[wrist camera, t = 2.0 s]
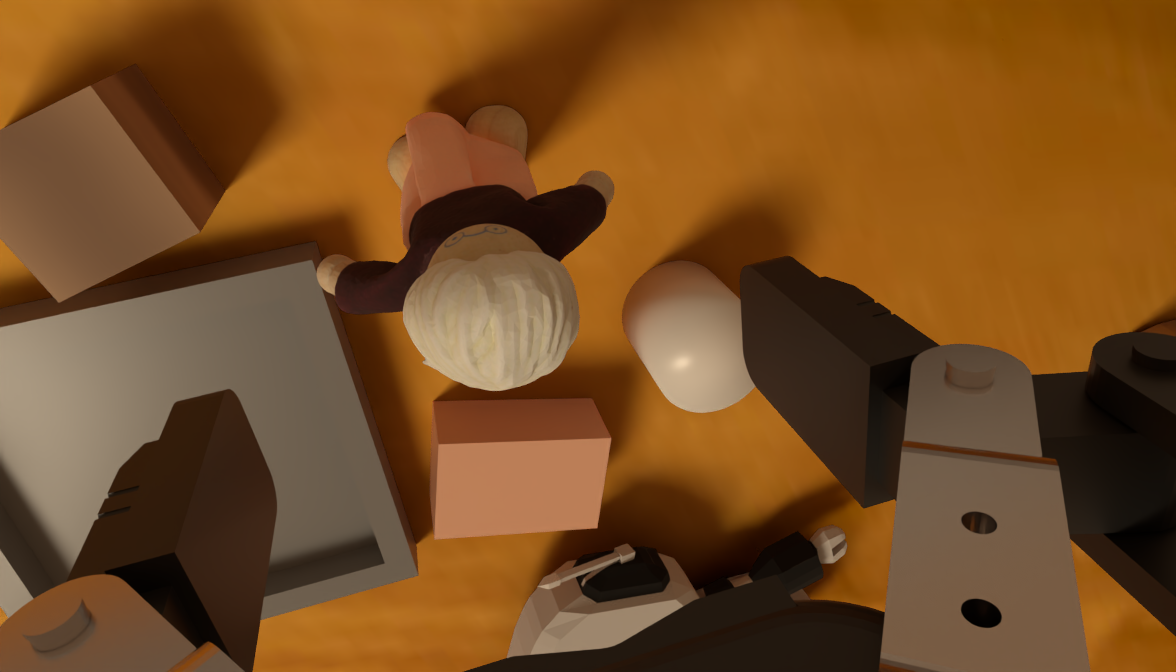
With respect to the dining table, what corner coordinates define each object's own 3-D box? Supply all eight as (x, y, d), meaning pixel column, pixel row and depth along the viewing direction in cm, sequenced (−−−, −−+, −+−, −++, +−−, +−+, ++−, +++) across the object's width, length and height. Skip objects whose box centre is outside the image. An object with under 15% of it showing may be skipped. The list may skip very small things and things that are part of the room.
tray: (316, 240, 24) (311, 259, 23) (416, 545, 31) (418, 575, 29) (-136, 337, 22) (-172, 364, 21) (68, 641, 29) (51, 678, 27)
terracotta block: (590, 395, 30) (611, 438, 27) (578, 480, 31) (597, 528, 29) (432, 398, 28) (438, 444, 26) (428, 487, 30) (434, 539, 27)
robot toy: (820, 477, 36) (502, 517, 31) (882, 542, 32) (531, 599, 27) (767, 667, 41) (489, 726, 36) (815, 742, 37) (510, 820, 32)
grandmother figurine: (524, 50, 23) (655, 138, 12) (578, 160, 25) (733, 323, 14) (302, 172, 23) (236, 369, 12) (372, 273, 25) (370, 522, 14)
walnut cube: (136, 63, 21) (90, 85, 18) (226, 189, 23) (200, 232, 20) (4, 128, 21) (-68, 163, 18) (105, 249, 23) (58, 302, 20)
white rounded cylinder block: (720, 249, 28) (769, 291, 25) (726, 344, 30) (772, 396, 27) (615, 273, 28) (650, 320, 24) (628, 369, 29) (662, 425, 26)
